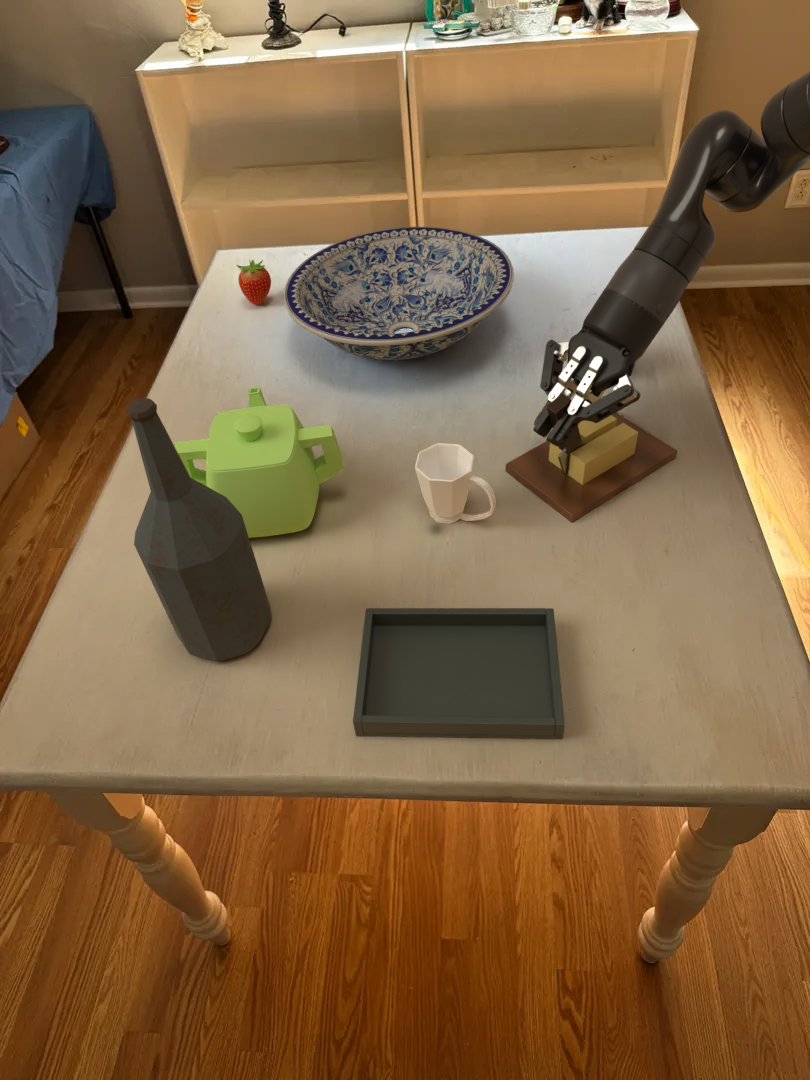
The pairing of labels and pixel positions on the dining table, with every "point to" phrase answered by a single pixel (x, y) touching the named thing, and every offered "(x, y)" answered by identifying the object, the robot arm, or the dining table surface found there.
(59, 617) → the dining table surface
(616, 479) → the board
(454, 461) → the cup
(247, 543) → the bottle
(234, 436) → the teapot
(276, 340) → the dining table surface
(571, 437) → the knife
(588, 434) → the butter
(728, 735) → the dining table surface
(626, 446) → the butter
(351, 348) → the ceramic bowl
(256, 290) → the fruit
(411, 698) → the tray
